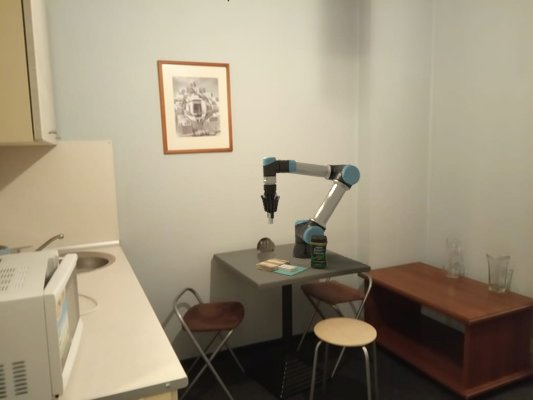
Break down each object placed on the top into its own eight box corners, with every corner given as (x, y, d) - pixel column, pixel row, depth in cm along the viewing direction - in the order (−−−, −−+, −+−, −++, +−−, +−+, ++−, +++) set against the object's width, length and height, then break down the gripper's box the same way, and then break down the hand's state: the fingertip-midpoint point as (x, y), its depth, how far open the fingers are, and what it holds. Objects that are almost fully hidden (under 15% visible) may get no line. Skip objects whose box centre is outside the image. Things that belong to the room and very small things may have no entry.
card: (284, 266, 231) (284, 264, 231) (296, 269, 226) (296, 266, 225) (277, 269, 227) (277, 266, 227) (290, 272, 221) (290, 269, 221)
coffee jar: (309, 268, 228) (309, 236, 226) (312, 264, 236) (311, 233, 234) (326, 269, 225) (326, 237, 223) (328, 265, 233) (328, 234, 231)
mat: (289, 265, 235) (289, 264, 235) (307, 269, 227) (307, 268, 227) (272, 272, 223) (272, 271, 223) (290, 276, 215) (290, 275, 215)
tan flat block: (273, 262, 243) (273, 258, 243) (289, 265, 236) (289, 261, 235) (256, 268, 231) (255, 264, 231) (272, 272, 223) (272, 267, 223)
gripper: (257, 183, 235) (258, 223, 238) (274, 184, 226) (275, 225, 229) (265, 183, 241) (266, 221, 243) (282, 183, 232) (283, 223, 235)
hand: (270, 223), depth 236 cm, fingers closed
